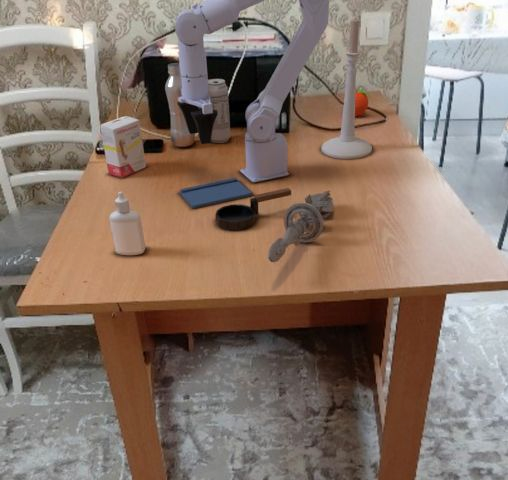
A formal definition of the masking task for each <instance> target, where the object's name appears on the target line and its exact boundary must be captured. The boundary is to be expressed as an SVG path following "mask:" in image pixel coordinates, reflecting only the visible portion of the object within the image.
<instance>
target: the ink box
mask: <svg viewBox="0 0 508 480" xmlns="http://www.w3.org/2000/svg"><path fill="white" fill-rule="evenodd" d="M140 123H141V122H140V119H137V118H134V117H132V116H131V117H130V116H128V115H124V116H121V117H117V118H116V119H112V120H109V121H107V122H103V123H101V125H100V132H101V138H102V139H101V140H102V143H103V150H104V155H105V161H106V167H107V172H108V175H111V176H115V177H118V178H122V179H123V178H126V177H128V176H130V175H132V174H134V173H137V172H139V171H140V170H143V169H145V168H146V167H147V163H146V157H145V150H144V143H143V136H142V130H141V124H140Z"/></svg>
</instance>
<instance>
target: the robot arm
mask: <svg viewBox="0 0 508 480" xmlns="http://www.w3.org/2000/svg"><path fill="white" fill-rule="evenodd" d="M262 2H265V0H204V1H202V2H200V3H197V2H194V3H192V4H191V7H192V8H185V9H183V10H182V11H180V13H178V15H177V17H176V20H175V25H174V29H175V31H174V32H175V35H176V36H177V38H178V39H177V47H178V61H179V62H178V63H180V73H181V82H182V89H181V93H182V97H178V101H179V102H177V104H178V106H179V107H180V109H181V111H182V113H183V115H184V118H185V121H186V124H187V128H188V131H189V133H190V134H194V133H195V134H198V139H199V143H200V144H201V145H206V144H210V143H212V142H211V136H212V129H213V125H214V122H215V119H216V117H217V115H218V112H217V111H216V110H212V103H211V102H210V94H209V89H208V80H209V78H208V77H209V76H208V65H207V52H206V51H207V50H206V49H205V44H204V36H205V35H211V34H213V33H215V32H218V31H219V30H221V29H224V28H225V27H227V26H229V25H231V24H233V23H236V22H237V21H238V20H239V16H240V13H241V12H242V11H244V10H247V9H249V8H251V7H253V6H255V5H257V4H261V3H262ZM298 2H299V7H300V8H299V9H300V12H301V16H302V20H301V23H300V24H299V26H298V28H297V29H296V31H295V32H294V35H293V36H292V38H291V40H290V42H289V44H288V46H287V48H286V50H285V52H284V53H283V55H282V57H281V59H280V60H279V62H278V64H277V66H276V67H275V69H274V72H273V73H272V74H271V77H270V79H269V81H268V82H267V84H266V85H265V88H264V89H263V90H261V92H260V93H259V94H258V96H257V97H256V99H255V100H254V101H253V102H251V103H250V104H249V105H248V106H247V108H246V110H245V113H244V114H245V115H244V116H245V121H246V132H245V134H244V150H245V167H244V168H241V169H239V171H240V173H241V174H242V175H243V176H245V177H246V178H247V179H248V180H249V181H250V182H252V183H259V182H263V181H267V180H272V179H277V178H282V177H287V176H289V175H290V173H289V172H288V165H289V164H288V159H289V157H288V155H289V154H288V153H289V152H288V151H289V150H288V142H287V140H286V137H285V135H284V134H283V133H281V132H276V126H277V121H278V119H279V117H280V115H281V111H282V108H283V104H284V102H285V101H286V99H287V97H288V95H289V93H290V92H291V90H292V89H293V87H294V84H296V81H297V80H298V78H299V77H300V74H301V73H302V71H303V69H304V67H305V66H306V64H307V62H308V61H309V59H310V57H311V56H312V53H313V52H314V50H315V48H316V47H317V45H318V43H319V41H320V39H321V38H322V36H323V35H324V33H325V31H326V29H327V28H328V25H329V15H330V11H329V10H330V0H298Z"/></svg>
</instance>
